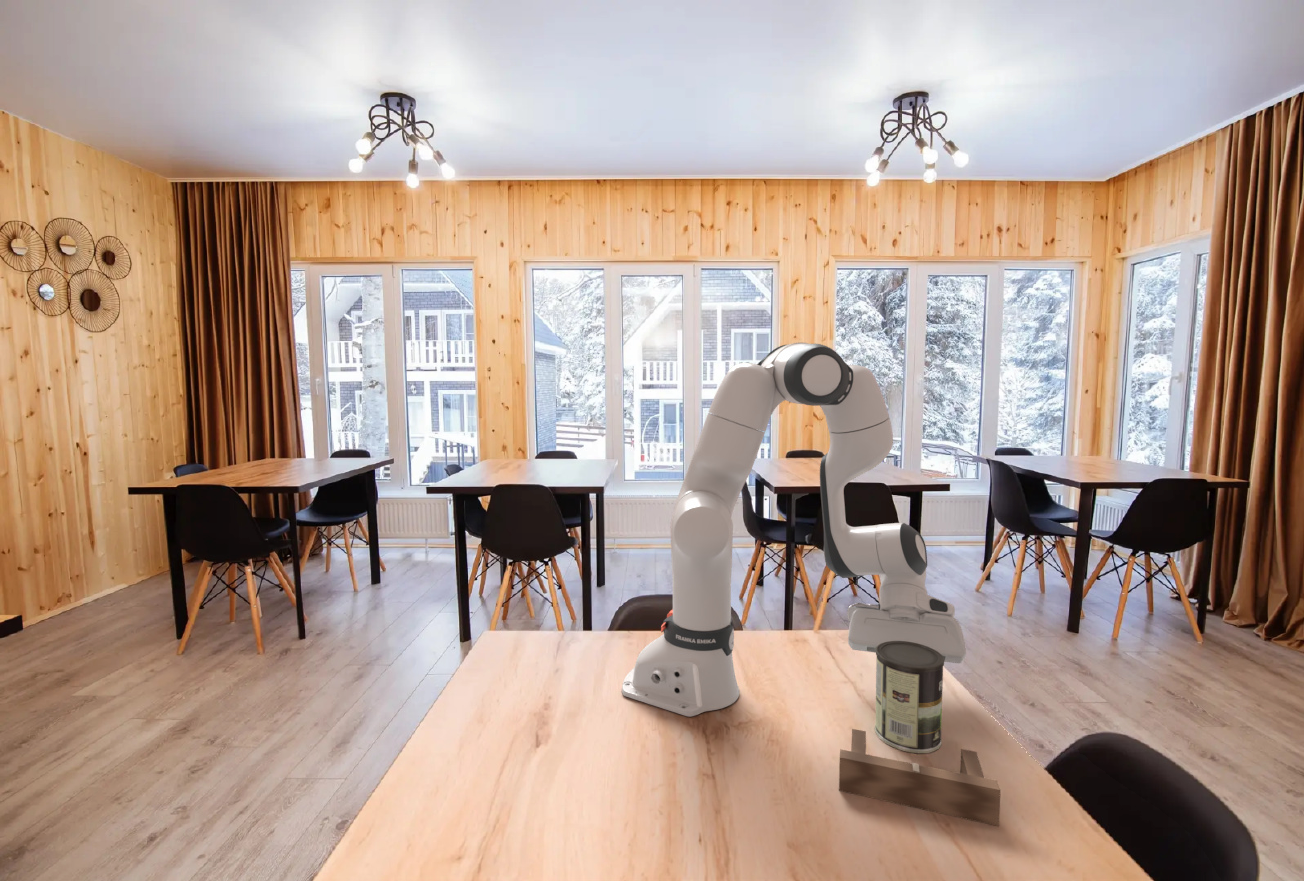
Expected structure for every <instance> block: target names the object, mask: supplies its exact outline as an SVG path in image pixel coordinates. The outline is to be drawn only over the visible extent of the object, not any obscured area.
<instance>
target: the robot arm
mask: <svg viewBox="0 0 1304 881" xmlns="http://www.w3.org/2000/svg"><path fill="white" fill-rule="evenodd" d="M785 401H786V402H789V403H791V404H797V405H806V406H811V407H812V406H814V407H816V406H819V407H820V409H821V410H822V413H823V414H824V416H825V422H826V425H827V430H828V434H829V448H828V452H827V453H826V454H824V455H822V457H821V460H820V463H819V464H820V465H819V466H820V467H819V486H820V487H819V489H820V500H821V501H820V502H821V512H822V513H821V514H822V524H823V525H822V526H823V558H824V561H825V565H826V567H827V568H828V569H829V570H830V571H831V572H832V573H834V574H835V575H836V576H838V577H840V578H841V579H849V578H856V577H861V576H875V575H876V576H878V575H879V576H880V580H881V581H880V585H879V591H878V592H879V593H878V594H879V597H878V598H879V600H878V601H879V603H878V604H876V603H875V604H874V603H862V602H855V603H852V604H851V605H849V606H848V607H847V611H846V612H847V613H846V614H847V615H846V616H847V617H846V618H847V620H848V622H849V627H848V636H847V637H848V638H847V643H848V646H849V647H850V649H852V651H853V650H854V651H860V652H868V653H875V654H876V647H877V646H878V645H879V644H881V643H884V642H888V641H907V642H913V643H918V644H921V645H924V646H927V647H930V648H932V649H934V650H936V651H937V652H939V653H940V654H941V655H942V656H943V658H944V663H950V664H951V663H952V664H962V663H963V662H964V661H965V659H966V656H967V647H966V641H965V637H964V633H963V629H962V626H961V624H960V622H959V621H958V620H957V619H956V618H955V614H956V613H955V611H956V610H955V606H954V605H953V604H952V603H951V602H947V601H945V600H942V599H939V598H937V597H934V596H931V595H929V594H928V590H927V588H926V579H927V568H928V559H927V558H928V557H927V556H928V554H927V546H926V543H925V540H924V538H923V536H922V534H921V533H920V532H919V531H917V530H916V529H915V528H914V527H912V526H911V525H909V524H907V523H906V522H894V523H893V522H892V523H883V524H875V525H862V526H851V525H849V524H848V523H847V521H846V506H845V494H844V490H845V486H847V484H848V483H850V482H852V480H854V479H856V478H858V477H860V476H862V475H863V474H866V473H867V472H870V471H871V470H873V469H874V468H875V467H877V466H878V465H879V464H881V463H882V462H883V461H884V460H885V459H886V458H887V457H888V455H889V454H890V452H891V451H892V448H893V445H894V437H893V436H894V435H893V428H892V423H891V422H892V421H891V420H890V419H891V418H890V415H889V411H888V407H887V405H886V402H885V398H884V395H883V393H882V391H881V388H880V385H879V384H878V382H877V380H876V377H875V376H874V374H873V372H872V371H871V370H870V369H869V368H867V367H866V366H863V365H860V364H859V365H858V364H847V363H846V362H845V361H844V359H843V358H842V356H841V355H839V353H838V352H837V351H835V350H834V349H833V348H831V347H829V346H827V345H824V344H821V343H807V342H802V341H801V342H794V343H790V344H789V343H788V344H783V345H780V346H777V347H776V348H774V349H773V350H771V351H770V352H768V354H767V355H766V356H765V357H764V358H762V359H760V361H759V362H758V363H757V364H756V363H752V362H742V363H737V364H734V365H733V366H732V367H731V368H730V369H728V371H727V373H725V376H724V377H723V379H722V381H721V383H720V385H719V386H718V389H717V390H716V392H715V395H714V397H713V400H712V402H711V404H710V407H709V409H708V413H707V415H706V417H705V421H704V423H703V426H702V429H701V432H700V435H699V437H698V440H697V444H696V447H695V449H694V452H693V454H692V456H691V457H692V458H691V460H690V462H689V465H688V467H687V469H686V470H687V471H686V474H685V476H684V479H683V481H682V484H681V488H680V490H679V493H678V495H677V498H676V501H675V503H674V507H673V512H672V515H671V521H670V548H671V549H670V551H671V552H670V554H671V555H670V556H671V572H672V574H671V575H672V609H671V610H670V611H668V613H667V615H666V618H665V619H664V620H663V623H662V624H661V626H660V632H661V633H662V635H660V636H659V637H657V638H655V639H654V640H652V641H651V642H650V643H648V644H647V645H645V647H643V649H642V650H641V651H640V653H639V654H638V656H637V658H636V661H635V664H634V667H633V668H632V669H631V670H630V671H629V672H628V673H627V674H626V676H625V677H624V679H623V681H622V686H621V687H622V688H621V693H622V695H623V696H624V697H627V698H630V699H632V700H636V701H639V702H641V703H645V704H648V705H650V706H653V707H658V708H660V709H663V710H666V711H670V712H672V713H675V714H679V715H682V716H684V717H695V716H697V715H700V714H701V713H704V712H710V711H716V710H720V709H724V708H726V707H728V706H731V705H732V704H734V703H735V702H736V701H737V700H738V698H739V697H740V688H739V686H738V682H737V677H736V673H735V668H734V660H733V650H734V645H735V644H734V643H735V629H734V620H733V618H732V614H731V613H732V567H733V566H732V565H733V538H734V537H733V534H734V533H733V531H734V524H733V519H732V515H733V511H734V509H735V506H736V504H737V501H738V500H739V496H740V495H741V492H742V490H743V488H744V486H745V484H746V481H747V480H748V478H749V476H750V474H751V472H752V469H753V466H754V464H755V461H756V459H757V456H758V454H759V450H760V448H761V445H762V442H763V439H764V437H765V434H766V431H767V428H768V426H769V422H770V418H771V416H772V414H773V413H774V411H775V409H776V408H777V407H778V406H779V405H780V404H781V403H783V402H785Z"/></svg>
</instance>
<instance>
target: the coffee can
mask: <svg viewBox="0 0 1304 881" xmlns="http://www.w3.org/2000/svg"><path fill="white" fill-rule="evenodd" d="M875 655H876V668H875V669H876V670H875V672H876V673H875V674H876V675H875V678H876V680H875V722H874V723H875V725H874V731H875V733H876V735H877V737H878V738H879V739H880V741H882V742H883V743H885V744H886V745H888V746H890V747H892V748H894V749H895V750H900V751H902V752H907V753H911V754H930V753H934V752H936V751H937V750H939V749H940V748H941V746H942V715H943V714H942V713H943V712H942V711H943V709H942V708H943V685H944V684H943V682H944V681H943V680H944V677H943V676H944V665H945V662H944V658H943V656H942V655H941V654H940V653H939V652H937V651H936V650H934V649H932V648H930V647H927V646H924V645H921V644H918V643H913V642H907V641H888V642H884V643H881V644H879V645H878V646H877V647H876V653H875Z"/></svg>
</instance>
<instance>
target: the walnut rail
mask: <svg viewBox="0 0 1304 881" xmlns="http://www.w3.org/2000/svg"><path fill="white" fill-rule="evenodd" d="M850 744H851V746H850V748H851V749H850V750H846V749H841V748H840V750H839V766H838V767H839V771H838V772H839V773H838V775H839V776H838V779H839V780H838V781H839V782H838V791H840V792H845V793H849V794H853V795H858V796H861V797H866V798H871V799H875V800H879V801H885V802H890V803H894V804H898V805H902V806H906V807H912V808H916V809H920V810H926V811H930V812H934V813H937V814H938V813H939V814H942V815H946V816H952V817H956V818H960V819H965V820H970V821H974V822H978V823H983V824H988V825H993V826H995V827H996V826H997V827H1000V811H1001V808H1000V806H1001V787H1000V785H999V781H998V779H992V778H987V777H985V775H984V773H983V768H982V766H981V761H980V759H979V756H978V753H977V751H973V750H967V749H962V748H961V749H960V767H959V769H960V770H959V772H957V771H952V770H947V769H943V768H942V769H941V768H937V767H931V766H926V765H921V764H919V763H916V762H907V761H903V760H902V761H901V760H896V759H892V758H886V757H881V756H876V755H873V754H867V753H866V752H867V746H866V745H867V731H865V730H861V729H855V728H852V729H851V743H850Z"/></svg>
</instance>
